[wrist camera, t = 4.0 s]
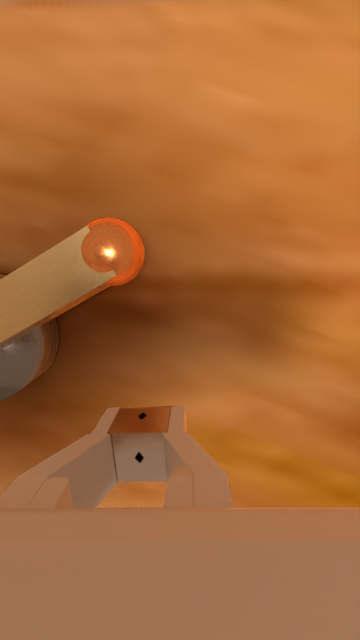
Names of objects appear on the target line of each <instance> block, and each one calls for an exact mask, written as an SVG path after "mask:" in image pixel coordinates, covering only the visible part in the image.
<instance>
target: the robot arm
mask: <svg viewBox="0 0 360 640" xmlns="http://www.w3.org/2000/svg"><path fill="white" fill-rule="evenodd" d="M131 481H163V482H167V488H166V496H165V503H164V508H95V507H96V506H97V505H98V504H99V503H100V502H101V501H102V500H103V499H104V497H105V496H106V495H107V494H108V493H109V492H110V491H111V490H112V489H113V488H114V487H115V485H116V484H117V482H131ZM0 640H360V507H241V508H233V504H232V498H231V492H230V486H229V480H228V474H227V473H226V472H225V471H224V470H223V469H222V468H221V467H220V466H219V465H218V464H217V463H216V462H215V461H214V460H213V459H212V457H211V456H210V455H209V454H208V453H207V452H206V451H205V450H204V449H203V448H202V447H201V446H200V445H199V444H198V443H197V442H196V441H195V440H194V439H193V438H192V436H191V435H190V434H189V433H188V432H187V421H186V408H185V405H179V406H162V407H113V408H107V409H106V410H105V412H104V414H103V415H102V417H101V419H100V420H99V422H98V423H97V425H96V427H95V428H94V430H93V431H92V433H91V434H87V435H85V436H83V437H82V438H80V439H78V440H77V441H75V442H73V443H72V444H70V445H68V446H67V447H65V448H63V449H62V450H60V451H58V452H57V453H55V454H53V455H52V456H50V457H49V458H47V459H45V460H44V461H42V462H40V463H39V464H37V465H35V466H34V467H32V468H30V469H29V470H27V471H25V472H24V473H22V474H20V475H19V476H17V477H16V479H15V480H14V481H13V482H12V483H11V485H10V486H9V487H8V488H7V489H6V490H5V492H4V493H3V494H2V495H1V496H0Z"/></svg>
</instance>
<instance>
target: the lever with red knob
mask: <svg viewBox="0 0 360 640" xmlns="http://www.w3.org/2000/svg"><path fill="white" fill-rule="evenodd" d="M144 256H145V252H144V245H143V242H142V240H141V238H140V236H139V234H138V233H137V232H136V230H135V229H134V228H133V227H132V226H131V225H129V224H128V223H126V222H124V221H122V220H120V219H117V218H111V217H105V218H99V219H96V220H94V221H92V222H90V223H89V224H87V225H86V226H85V227H84V228H82V229H81V230H79V231H77V232H76V233H74V234H73V235H71V236H69V237H68V238H66V239H65V240H63V241H61V242H60V243H58V244H57V245H55V246H53V247H52V248H50V249H49V250H47V251H45V252H44V253H42V254H41V255H39V256H37V257H36V258H34V259H33V260H31V261H29V262H28V263H26V264H24V265H23V266H21V267H20V268H18V269H16V270H15V271H13V272H12V273H10V274H8V275H5V274H0V400H3V399H6V398H8V397H10V396H12V395H14V394H15V393H17V392H18V391H20V390H21V389H22V388H24V387H25V386H27V385H28V384H29V383H31V382H32V381H33V380H35V379H36V378H38V377H39V376H40V375H42V374H43V373H44V372H45V371H46V370H47V369H48V368H49V367H50V365H51V364H52V362H53V361H54V358H55V356H56V354H57V350H58V344H59V331H58V325H57V322H56V318H55V317H57V316H59V315H60V314H62V313H64V312H66V311H67V310H69V309H71V308H73V307H74V306H76V305H78V304H80V303H81V302H83V301H85V300H87V299H88V298H90V297H92V296H94V295H95V294H97V293H99V292H101V291H102V290H104V289H106V288H107V287H109V286H118V285H122V284H125V283H127V282H129V281H131V280H132V279H134V278H135V277H136V276H137V275H138V273H139V272H140V270H141V268H142V266H143V263H144Z"/></svg>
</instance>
